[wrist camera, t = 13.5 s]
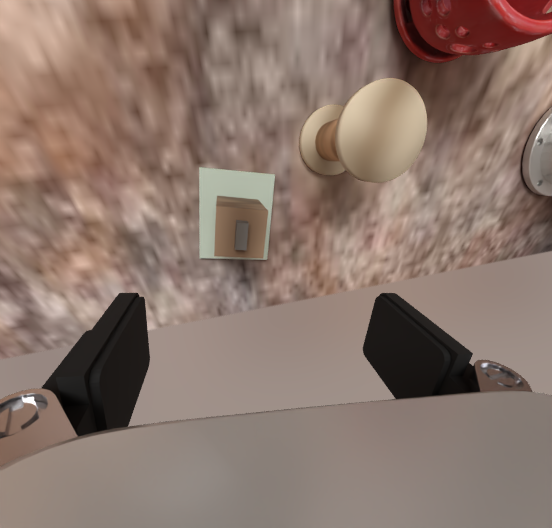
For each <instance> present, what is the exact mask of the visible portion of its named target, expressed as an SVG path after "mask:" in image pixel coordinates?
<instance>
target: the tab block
mask: <svg viewBox="0 0 552 528" xmlns="http://www.w3.org/2000/svg"><path fill="white" fill-rule="evenodd" d="M267 219H268V210H267V209H266V208H265V207H264V205H263V204H262V203H261V202H260V201H259V200H258V199H248V198H237V197H227V196H217V202H216V222H215V248H214V256H218V257H240V258H262V259H263V256H264V247H265V237H266V228H267Z"/></svg>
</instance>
